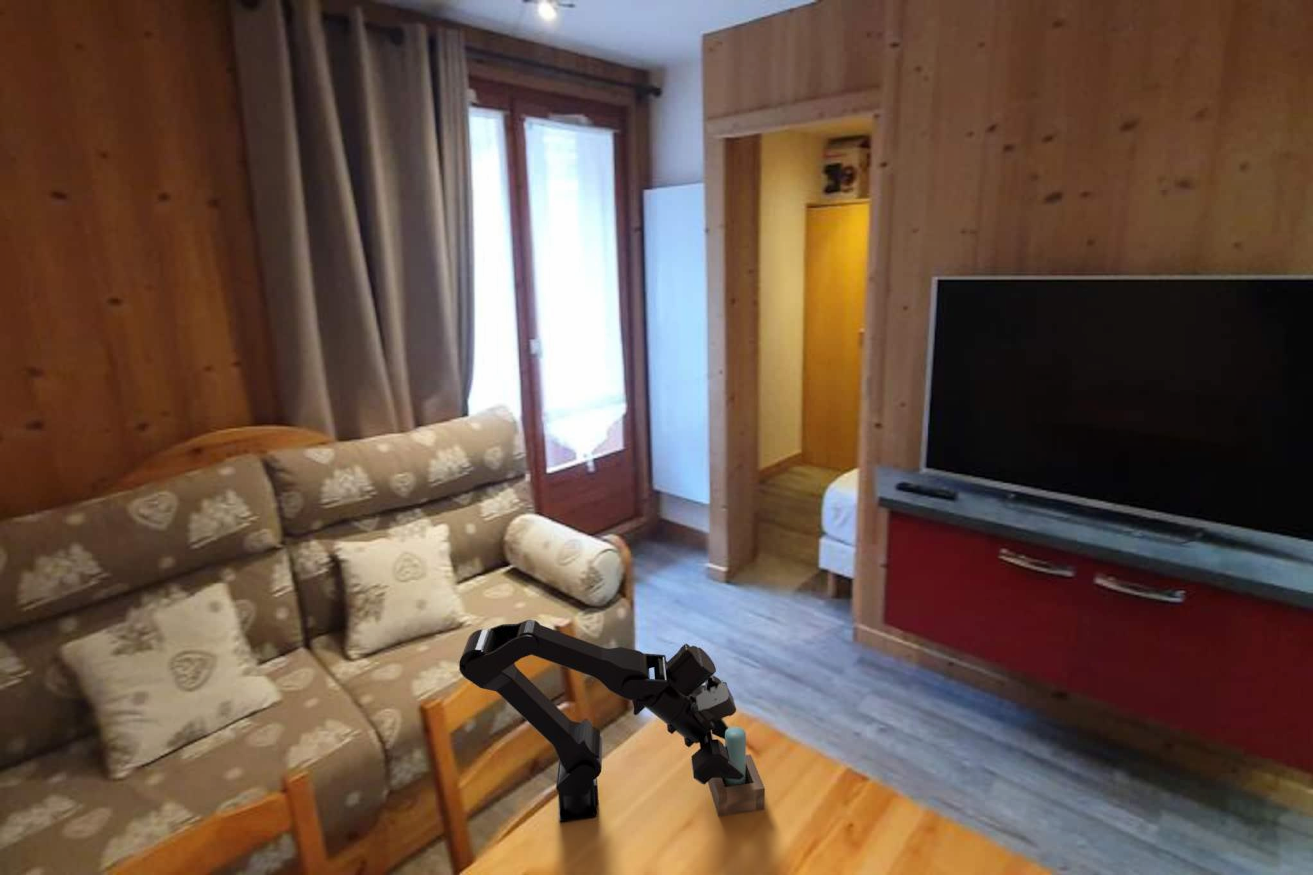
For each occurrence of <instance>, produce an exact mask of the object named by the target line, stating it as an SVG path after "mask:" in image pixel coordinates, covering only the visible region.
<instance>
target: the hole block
mask: <svg viewBox="0 0 1313 875" xmlns="http://www.w3.org/2000/svg"><path fill="white" fill-rule="evenodd" d="M707 783H708V787H709V790H710V794H711V797H712V799H713V800H712V801H713V803H714V806H715V808H716V813H717V816H718V817H725V816H730V815H731V816H732V815H737V814H743V813H751V812H757V811H762V810H763V811H764V810H765V799H766V798H765V794H766V793H765V792H766V787H765V785H764V783H763V781H762V779H761V775H760V774H759V771H758V769H757V767H756V763H755V761H754V759H753V756H752V754H750V753H749V754H746V769H745V784H744V785H737V786H730V787H725V778H711V779H710V780H709V781H708V782H707Z"/></svg>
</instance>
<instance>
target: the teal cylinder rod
mask: <svg viewBox="0 0 1313 875" xmlns="http://www.w3.org/2000/svg"><path fill="white" fill-rule="evenodd" d="M724 746H725V747H726V746H727V749H728V753H729V759H730V760H731V761H732V762H733V763H734V764H735V765H736V766H737V767H738V768H739V769H740V770H741V772H742V773H743V774H744V777H743V778H741V779H740V780H738V779H727V778H725V785H724V786H725V787H730V786H737V785H744V784H746V783H745V769H746V755H747V754H746V752H747V734H746V730H744V729H743V728H742V727H739V726H731V727H728V729H727V730H726V732H725V739H724Z"/></svg>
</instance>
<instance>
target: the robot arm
mask: <svg viewBox="0 0 1313 875" xmlns="http://www.w3.org/2000/svg"><path fill="white" fill-rule="evenodd" d="M529 656H533V657H537V658H539V659H542V660H544V661H547V662H551V663H553V664H556V665H559V666H562V667H564V668H567V669H570V670H573V671H575V672H577V673H582V674H584V675H587V676H590V677H592V678H594V679H596V680H598V681H599V682H600V683H601V684H602V685H603V686H604V687H605V688H606V689H607V690H608V691H609V692H612V693H613V694H615V695H617V696H618V697H620V698H622V699H625V700H627V701H631V703H632V708H633V710H632V711H633V713H632V714H633V715H634V716H638V715H639V714H640V713H641V712H643V710H644V709H645V708H646V709H647V710H648V711H650V712H651V713H652V714H654V715H655V716H656V717H657V718H658V719H660V720H661V721H662V722H663V723H664V724H666V728H667V732H669V733H670V734H671V735H673V734H674V733H675V732H677V733H678V734H679V735H680V736H682V737H683V739H684V745H685V746H686V747H687V748H690V747H692V746H693V745H694V744H699V747H700V748H699V749H698V750H697V751H696V752H695V753H693V754H692V755H691V760H690V761H691V770H692V776H693V779H694V780H695V781H697V782H699V783H700V784H701V785H706V784H707V783H708V781H709V780H710V779H711V778H727V779H738V780H740V779H741V778H743V777H744V774H743V773H742V772H741V770H740V769H739V768H738V767H737V766H736V765H735V764H734V763H733V762H732V761H731V760H730V759H729V753H728V749H727V746H726V747H725V744H724V743H723V741H720V739H723V740H725V732H726V730H727V729H728V728H729V726H728V725H727V723H726V721H724V718H726V717H731V716H733V715H734V714H735V713H736V712H737V707H736V703H735V701H734V700H735V699H734V696H733V694H732V693H731V691H730V689H729V687H728V683H727V682H726V681H724V680H723V679H720V678H719V677H717V676H715V673H716V672H717V668H716V665H715V663H714V661H713V659H712V658H711V657H710V656H709V655H708V653H707V652H706V651H705V650H704V649H702V648H701V647H700V646H699V647H698V646H696V645H691V646H690V645H689V644H688V643H684V644H683V645H682V646H681V647H680V648H679V650H678V651H677V652H676V653H674V655H673V656H672V657H671V658H670V659H669V660H668V661H667V656H666V655H665V654H658V653H657V654H656V653H655V654H654V653H643V652H642V651H640V650H636V649H630V648H626V647H622V646H618V647H611V648H609V647H608V648H607V647H603V646H599V645H596V644H593V643H592V642H588V641H585V640H583V639H580V638H577V637H576V636H575V637H574V636H572V635H569V634H566V633H563V632H561V631H559V630H555V629H553V628H551V627H547V626H545V625H542V624H541V623H539V622H538V621H537V620H534V619H527V620H524V621H521V622H519V623H507V624H506V623H505V624H499V625H496V626H494V627H492V628H491V627H490V628H488V629H478V630H477V629H476V630H475V631H474V632H472V633H471V634H470V635H469V637H468V638H467V641H466V644H465V646H464V649H463V651H462V654H461V657H460V660H459V662H458V664H459V672H460V674H461V675H462V676H463V678H465V679H466V680H468V681H469V682H471V683H472V684H473V685H475V686H476V687H478V688H479V689H483V690H487V691H493V692H496V693H497V694H498V695H500V696H501V697H502V699H504V700H505V701H506V702H507V703H508V704H509V705H510V706H511V708H513V709H514V710H515V711H516V712H518V714H519V715H520V716H522V717H523V718H524V720H526V721H527V723H529V725H531V726H532V728H534V729H535V730H536V731H537V732H538V733H539V734H540V735H542V737H543V738H544V739H546V740H547V741H548V742H549V743H550V744H551V745H552V747H553V748H554V750H555V753H556V755H557V758H558V765H557V773H556V785H555V789H556V791H557V794H558V820H559V822H560V823H567V822H571V821H572V822H573V821H579V820H585V819H592V818H595V817H598V816H597V815H598V812H597V809H598V808H597V806H599V804H600V803H599V787H598V786H599V785H598V779H597V778H598V777H599V776H600V774H601V773H602V767H603V738H602V736H601V729H599V728H596V727H595V726H594V725H593V724H592V723H591V722H590V720H589V719H588V718H587V717H585V718H583V720H581V722H579V721H574V720H571V719H570V717H568V716H566V714H565V713H564V712H563V711H562V710H561V709H560V708H559V707H557V706H556V705H555V703H553V702H552V701H551V700H550V699H549V698H548V696H546V695H545V694H544V693H543V692H542V691H541V690H540V689H539V688H538V687H537V686H536V684H534V683H533V682H532V681H531V680H530V679H529V678H528V677H527V676H526V675H525V674H524V673H523V672H522V671H521V670H520V669H519V668H518V667H517V666H516V663H517V662H518V661H520V660H521V659H523V658H526V657H529ZM650 669H653V672H654V675H653V676H654V679H653V678H651V676H650V675H651V674H650ZM704 683H705V685H704ZM714 736H716V737H718V738H720V739H717V738H715V739H714Z"/></svg>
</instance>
